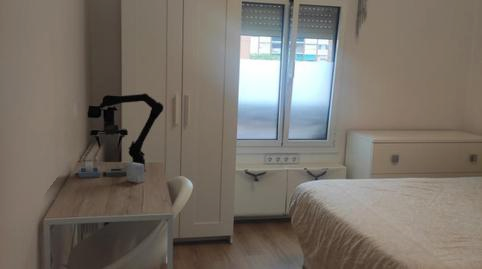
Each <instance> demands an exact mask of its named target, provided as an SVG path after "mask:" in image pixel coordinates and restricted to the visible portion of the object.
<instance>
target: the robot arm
mask: <svg viewBox="0 0 482 269" xmlns="http://www.w3.org/2000/svg"><path fill="white" fill-rule="evenodd" d="M134 102H135V103H137V102H143V103H145V104H147V106H149V107H150V108H151V109H150V112H149V116H148V117H147V120H146V122H145V124H144V126H143V128H142V130H141V132H140V133H139V135H138V137H137V139H136V140H135V141H134V140H132V142H131V143H130V146H129V147H128V155H129V156H130V157H131V158H132V159H131V160H132V161H131V162H134V163H140V164H144V172H146V168H145V167H146V159H145V153H144V152H143V150H142V148H143V145H144V143H145V142H144V141H145V140H146V138H147V136H148V134H149V133H150V130H151V129H152V127H153V124H154V123H155V121H156V120H157V118H158V117H159V116H160V115H161V113H162V112H163V110H164V104H163V103H162V102H160V101H156V100H155V99H154V98H153V97H152V96H150V95H149V94H148V93H141V94H140V93H139V94H128V95H125V94H124V95H119V94H117V95H116V94H106V95H104V96H103V97H102V102H101V103H100V104H99V105H94V104H93V105H91V104H90V105H88V109H87V118H88V119H101V118H102V121H103V123H102V124H103V125H102V129H101V130H100V129H98V128H91V129H89V135H90V136H92V137H93V138H95V140H96V142H97V145H98V147H99V149H101V144H100V143H101V141H100V134H101V135H105V136H107V135H110V136H113V135H116V134H117V136H118V137H117V149H119V148H120V145H121V142H122V139H123V138H124V137H126V136H128V135H129V134H128V133H129V132H128V130H127V128H119V125H118V124H116V121H115V119H116V118H115V117H116V116H115V115H116V112H115V111H119V108H118V107H117V106H116V105H119V104H125V103H134ZM106 107H107V108H106Z"/></svg>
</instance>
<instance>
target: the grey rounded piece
mask: <svg viewBox="0 0 482 269" xmlns="http://www.w3.org/2000/svg"><path fill="white" fill-rule="evenodd" d="M84 160H85V167H86V171H85V172H93V167H94V158H93V157H85V158H84Z"/></svg>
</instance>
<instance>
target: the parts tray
mask: <svg viewBox="0 0 482 269" xmlns="http://www.w3.org/2000/svg"><path fill="white" fill-rule="evenodd" d="M85 171H86V166H85V167H83V166H82V167H78V179H81V178H84V177H89V178H101V169H100V166H93V172H85Z"/></svg>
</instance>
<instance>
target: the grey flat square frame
mask: <svg viewBox="0 0 482 269" xmlns="http://www.w3.org/2000/svg"><path fill="white" fill-rule="evenodd" d="M105 171H106V172H105ZM105 171H104V172H105V177H121V176H124V177H127V167H105Z"/></svg>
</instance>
